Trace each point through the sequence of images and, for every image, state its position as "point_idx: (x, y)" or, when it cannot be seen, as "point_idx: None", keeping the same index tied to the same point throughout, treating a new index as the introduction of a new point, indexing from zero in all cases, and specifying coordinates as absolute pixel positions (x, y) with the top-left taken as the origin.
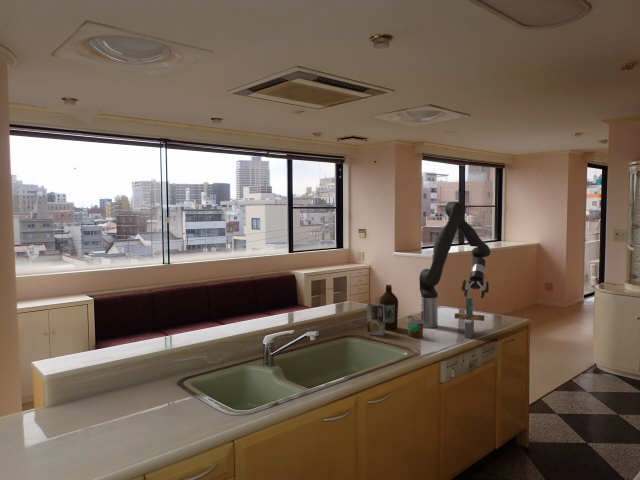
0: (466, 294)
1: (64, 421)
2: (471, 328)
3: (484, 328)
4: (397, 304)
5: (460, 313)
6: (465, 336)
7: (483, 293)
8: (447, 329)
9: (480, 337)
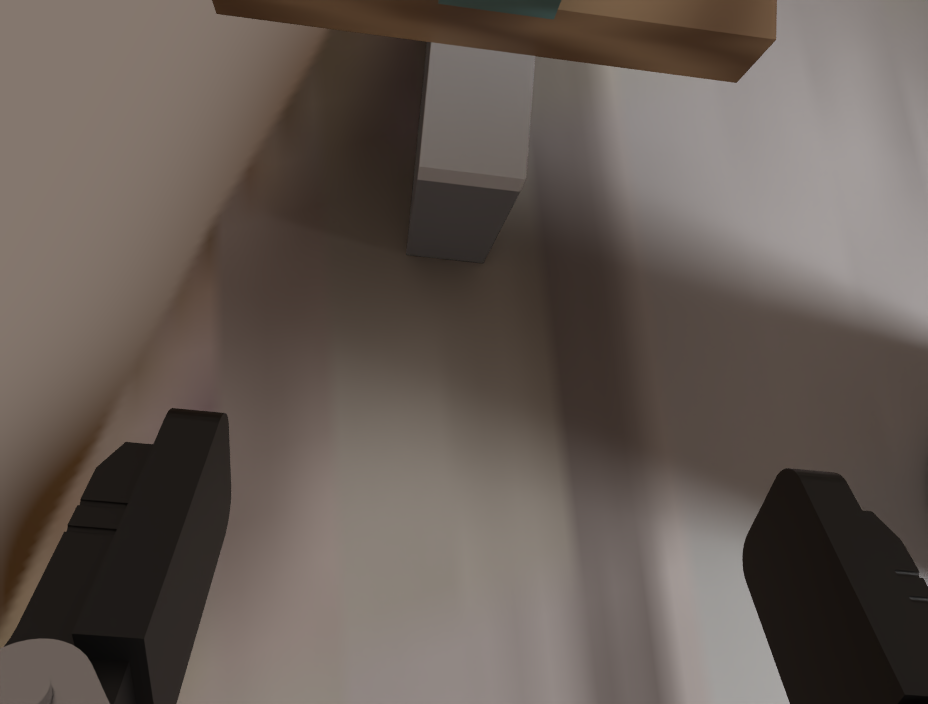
0: (801, 483)
1: None
2: None
3: (269, 634)
4: None
5: (679, 26)
6: None
7: (90, 547)
8: (775, 393)
9: (309, 95)
